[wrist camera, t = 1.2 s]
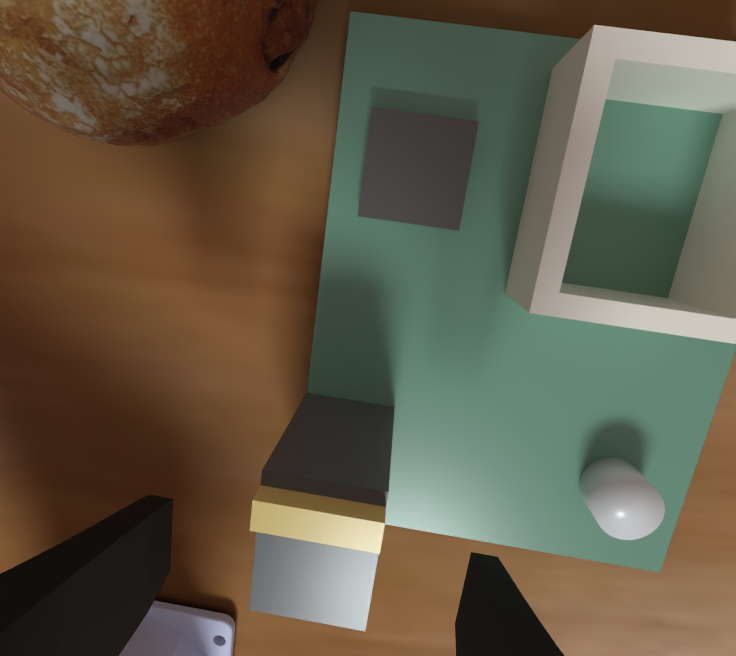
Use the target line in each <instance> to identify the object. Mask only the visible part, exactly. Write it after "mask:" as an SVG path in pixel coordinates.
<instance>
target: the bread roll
mask: <svg viewBox="0 0 736 656" xmlns="http://www.w3.org/2000/svg"><path fill="white" fill-rule="evenodd" d="M315 6H316V0H0V90H1V91H2V92H3V93H4V94H6V95H7V96H8V97H9V98H10V99H12V100H13V101H15V102H16V103H17V104H19V105H20V106H22V107H23V108H25V109H26V110H28V111H29V112H31V113H32V114H34V115H36V116H37V117H39V118H41V119H42V120H44V121H46V122H47V123H49V124H51V125H53V126H55V127H57V128H60V129H62V130H64V131H67V132H69V133H72V134H74V135H77V136H80V137H83V138H87V139H91V140H95V141H100V142H105V143H110V144H114V145H122V146H133V145H142V146H154V145H158V144H163V143H168V142H171V141H176V140H179V139H181V138H183V137H185V136H186V135H191V134H197V133H198V132H200V131H201V130H202V129H204V128H205V127H210V126H214V125H217V124H219V123H221V122H223V121H225V120H227V119H229V118H232V117H234V116H236V115H238V114H240V113H242V112H243V111H245V110H246V109H248V108H250V107H252V106H254V105H256V104H257V103H259V102H261V101H263V100H264V99H265V97H266V96H267V95H268V94H269V92H270V91H272V90H273V89H274V88H275V87H276V86H278V85H279V84H280V83H281V82H282V80H283V78H284V77H285V75H286V74H287V72H288V70H289V67H290V64H291V62H292V61H293V59H294V57H295V55H296V53H297V51H298V50H299V48H300V47H301V45H302V44H303V42H304V41H305V39H306V38H307V36H308V33H309V30H310V28H311V25H312V20H313V16H314V11H315Z"/></svg>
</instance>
